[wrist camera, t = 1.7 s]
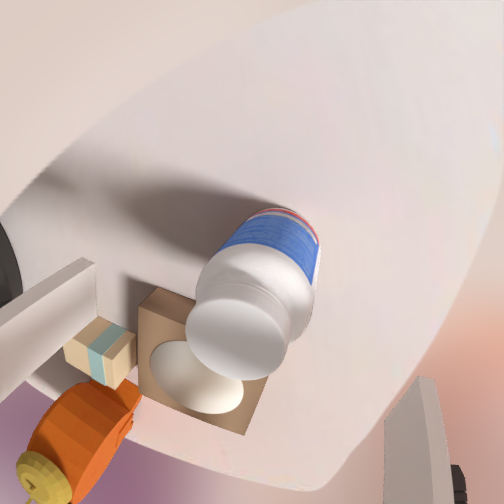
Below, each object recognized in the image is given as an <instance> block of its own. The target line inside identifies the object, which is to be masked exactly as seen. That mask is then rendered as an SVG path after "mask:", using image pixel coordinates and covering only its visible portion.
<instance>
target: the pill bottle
mask: <svg viewBox="0 0 504 504" xmlns="http://www.w3.org/2000/svg"><path fill="white" fill-rule="evenodd" d="M320 254H321V248H320V241H319V238H318V235H317V233H316V231H315V229H314V228H313V226H312V225H311V224H310V223H309V222H308V221H307V220H306V219H305V218H304V217H302V216H301V215H299V214H297V213H296V212H293V211H291V210H287V209H283V208H269V209H264V210H261V211H259V212H257V213H255V214H253V215H252V216H250V217H249V218H248V219H247V220H246V221H245V222H244V223H243V224H242V225H241V226H240V227H239V228H238V229H237V231H236V232H235V233H234V234H233V235H232V236H231V237H230V238H229V239H228V241H227V242H226V243H225V244H224V245H223V246H222V247H221V248H220V249H219V250H218V251H217V252H216V253H215V255H214V256H213V257H212V258H211V259H210V260H209V262H208V263H207V264H206V266H205V267H204V268H203V270H202V272H201V274H200V276H199V279H198V282H197V286H196V305H195V306H194V308H193V309H192V310H191V312H190V314H189V316H188V318H187V321H186V326H185V333H186V339H187V343H188V344H189V347H190V349H191V350H192V352H193V353H194V355H195V356H196V357H197V359H198V360H199V361H200V362H201V363H203V364H204V365H205V366H206V367H208V368H209V369H210V370H212V371H214V372H216V373H217V374H220V375H222V376H224V377H227V378H231V379H236V380H256V379H261V378H264V377H266V376H268V375H270V374H271V373H273V372H274V371H275V370H276V369H277V368H278V367H279V366H280V365H281V363H282V361H283V359H284V357H285V354H286V351H287V348H288V346H289V345H291V344H292V343H294V342H295V341H296V340H297V339H298V338H299V337H300V336H301V335H302V333H303V332H304V331H305V329H306V327H307V325H308V323H309V321H310V318H311V315H312V310H313V304H314V297H315V290H316V284H317V277H318V270H319V264H320Z"/></svg>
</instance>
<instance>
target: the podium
mask: <svg viewBox="0 0 504 504" xmlns="http://www.w3.org/2000/svg"><path fill="white" fill-rule="evenodd" d="M195 305H196V301H194V300H192V299H189V298H186V297H184V296H181V295H178V294H176V293H173V292H170V291H168V290H165V289H163V288H160V287H158V288H157V289H156V290H155V291H154V292H153V293H152V294H150V295H149V296H148V297H147V298H146V299H145V300H144V301H143V302H142V303H141V304H140V305H139V306H138V383H139V393H140V394H142V395H144V396H146V397H148V398H150V399H153V400H155V401H157V402H159V403H161V404H164V405H166V406H168V407H170V408H173V409H175V410H177V411H180V412H182V413H184V414H187V415H189V416H192V417H194V418H197V419H199V420H202V421H204V422H207V423H210V424H212V425H215V426H218V427H220V428H223V429H226V430H229V431H232V432H235V433H238V434H241V435H245V433H246V430H247V428H248V425H249V423H250V421H251V418H252V416H253V413H254V411H255V409H256V406H257V404H258V401H259V399H260V396H261V394H262V391H263V389H264V386H265V384H266V381H267V379H268V376H269V375H268V376H266V377H264V378H261V379H256V380H236V379H231V378H227V377H224V376H222V375H220V374H217V373H216V372H214V371H212V370H210V369H209V368H208V367H206V366H205V365H204V364H203V363H201V362H200V361H199V360H198V359H197V357H196V356H195V355H194V353H193V352H192V350H191V349H190V347H189V344H188V343H187V339H186V333H185V326H186V321H187V318H188V316H189V314H190V312H191V310H192V309H193V308H194V306H195Z"/></svg>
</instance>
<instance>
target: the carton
mask: <svg viewBox="0 0 504 504" xmlns="http://www.w3.org/2000/svg"><path fill="white" fill-rule="evenodd" d="M63 350H64V354H65V359H66V362H68V363H69V364H71V365H73V366H74V367H76V368H77V369H79V370H81V371H82V372H84V373H86V374H87V375H89V376H91V377H92V379H94V380H96V381H97V382H99V383H101V384H103V385H105V386H106V385H107V386H109V387H111V388H112V389H114V390H116V388H117V387H118V386H119V385H120V383H121V382H122V381H123V380H124V379H125V377H126V376H127V375H128V374H129V372H130V371H131V370H132V369H133V368H134V366H135V365H136V334H134V333H132V332H130V331H128V330H126V329H124V328H122V327H120V326H118V325H116V324H114V323H111V322H109V321H107V320H105V319H103V318H101V317H99V316H97V317H96V318H95V319H94V320H93V321H91V322H90V323H89V324H88V325H87V326H86V327H84V328H83V329H82V330H81V331H80V332H79V333H77V334H76V335H75V336H74V337H73V338H72V339H70V340H69V341H68V342H67V343H66V344H65V345H64V346H63Z"/></svg>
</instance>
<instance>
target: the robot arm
mask: <svg viewBox="0 0 504 504" xmlns="http://www.w3.org/2000/svg"><path fill="white" fill-rule="evenodd" d="M96 317H97V301H96V278H95V263H94V262H91V261H89V260H87V259H85V258H83V257H82V258H80V259H78V260H77V261H75V262H73V263H71V264H70V265H68V266H66V267H65V268H63V269H61V270H60V271H58V272H57V273H55V274H53V275H52V276H50V277H48V278H47V279H45V280H44V281H42V282H40V283H39V284H37V285H36V286H34V287H32V288H31V289H29V290H28V291H26V292H25V293H23V290H22V282H21V277H20V272H19V269H18V265H17V262H16V259H15V256H14V253H13V250H12V247H11V245H10V243H9V240H8V238H7V236H6V234H5V232H4V230H3V228H2V226H1V225H0V403H1V401H3V400H4V399H5V398H6V397H7V396H8V395H9V394H10V393H11V392H12V391H13V390H15V389H16V388H17V387H18V386H19V385H20V384H21V383H22V382H23V381H24V380H25V379H27V378H28V377H29V376H30V375H31V374H32V373H33V372H34V371H35V370H36V369H38V368H39V367H40V366H41V365H42V364H43V363H44V362H45V361H47V360H48V359H49V358H50V357H51V356H52V355H53V354H54V353H56V352H57V351H58V350H59V349H60V348H61V347H62V346H64V345H65V344H66V343H67V342H68V341H69V340H70V339H72V338H73V337H74V336H75V335H76V334H77V333H79V332H80V331H81V330H82V329H83V328H84V327H86V326H87V325H88V324H89V323H90V322H91V321H93V320H94V319H95V318H96ZM384 445H385V446H384V449H385V450H384V453H385V454H384V492H383V504H467V493H466V483H465V477H464V475H463V473H462V471H461V469H460V467H459V465H450V459H449V452H448V445H447V439H446V433H445V427H444V422H443V417H442V411H441V406H440V402H439V397H438V393H437V388H436V384H435V380H434V379H431V378H426V377H422V376H418V377H417V378H416V379H415V381H414V382H413V384H412V385H411V386H410V388H409V389H408V391H407V392H406V393H405V394H404V396H403V397H402V398H401V400H400V401H399V403H398V404H397V405H396V406H395V408H394V409H393V410H392V411H391V413H390V414H389V415H388V416H387V418H386V419H385V420H384Z"/></svg>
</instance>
